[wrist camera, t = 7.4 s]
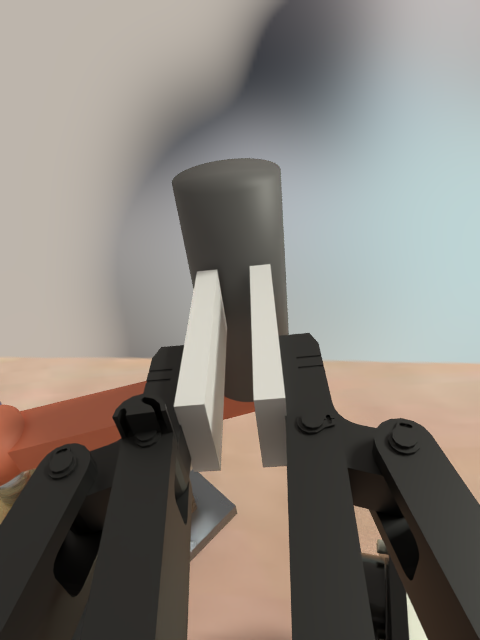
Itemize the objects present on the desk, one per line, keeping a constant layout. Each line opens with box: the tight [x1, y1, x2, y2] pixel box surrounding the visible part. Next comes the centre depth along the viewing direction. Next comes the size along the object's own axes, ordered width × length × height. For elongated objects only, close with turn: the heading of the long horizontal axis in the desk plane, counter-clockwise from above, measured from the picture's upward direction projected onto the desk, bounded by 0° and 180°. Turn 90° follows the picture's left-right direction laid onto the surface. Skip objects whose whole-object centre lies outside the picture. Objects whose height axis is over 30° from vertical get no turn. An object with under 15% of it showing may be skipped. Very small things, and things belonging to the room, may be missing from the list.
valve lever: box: [0, 158, 289, 486], centre depth 18 cm, size 17×4×12 cm, turn 104°
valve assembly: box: [0, 464, 237, 640], centre depth 24 cm, size 20×9×13 cm, turn 135°
